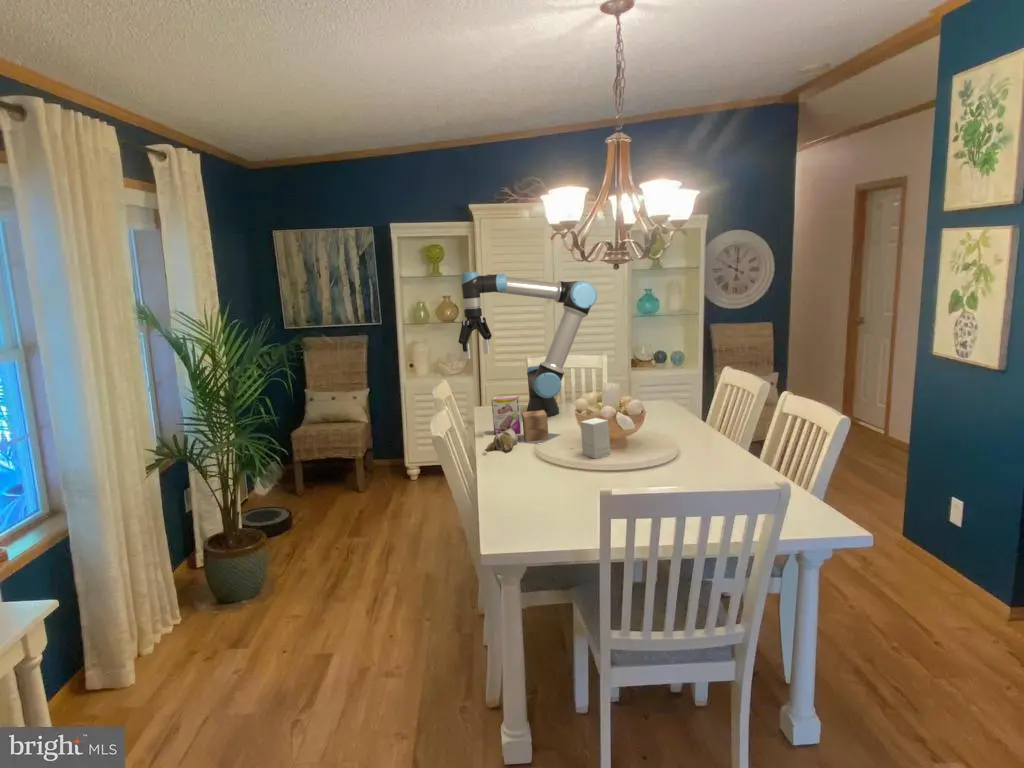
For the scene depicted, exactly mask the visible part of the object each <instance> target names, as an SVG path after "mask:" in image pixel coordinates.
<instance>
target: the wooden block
mask: <svg viewBox="0 0 1024 768" xmlns="http://www.w3.org/2000/svg"><path fill="white" fill-rule="evenodd" d="M521 419H522V420H521V422H522V430H523V431H522V432H523V436H524V438H525V440H526V442H529V441H538V440H548V439H549V436H548V433H549V426H548V425H549V424H548V417H547V414H546V412H545V411H544V410H540V411H530V412H527V411H523V412H521ZM548 441H549V440H548Z"/></svg>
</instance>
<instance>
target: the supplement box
mask: <svg viewBox="0 0 1024 768" xmlns="http://www.w3.org/2000/svg"><path fill="white" fill-rule="evenodd" d="M580 432H581V434H580V435H581V444H582V445H581V447H582V455H585V456H589V458H592V459H599V458H603V457H606V456H609V455H611V444H610V443H611V441H610V428H609V420H608V419H601V418H597V417H594V418H590V419H585V420H583V421H582V420H581V421H580Z"/></svg>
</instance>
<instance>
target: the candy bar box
mask: <svg viewBox="0 0 1024 768" xmlns="http://www.w3.org/2000/svg"><path fill="white" fill-rule="evenodd" d="M520 406H521V405H520V396H519V395H513V396H512V395H511V396H495V397H492V398H491V408H492V409H491V410H492V422H493V433H494V436H496V435H497V434H499V433H500V431H501V430H502V429H504V430H508V429H510V428H512V429H513V431H514V432H515V434H516V435H521V434H522V432H523V431H522V430H523V429H522V420H521V419H522V417H521V407H520Z"/></svg>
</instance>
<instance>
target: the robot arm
mask: <svg viewBox="0 0 1024 768" xmlns="http://www.w3.org/2000/svg"><path fill="white" fill-rule="evenodd" d="M460 276H461V279H460V281H461V289H462V290H461V292H462V293H461V294H462V298H463V299H462V300H463V308H464V309H463V311H464V318H465V319H466V320H461V329H460V332H459V337H458V344H460V345H462V351H463V359H464V360H470V359H471V352H470V343H469V340H470V338H471V335H472V333H473V331H474V330H477V331H478V333H479V334H480V336H481V337H482V338H483V339H482V349H483V350H482V351H483V355H490V341H489V340H492V339H491V338H492V333H491V331H490V328H489V325H488V323H487V319H486V317H482V315H483V311H482V308H481V307H482V299H481V294H484V293H485V294H488V293H489V294H490V293H498V294H499V293H500V294H508V295H516V296H524V297H532V298H539V299H547V300H554V301H555V302H556V303H560V304H562V307H563V310H564V312H563V314H562V317H561V319H560V322H559V323H558V326H557V329H556V331H555V333H554V336H553V339H552V342H551V344H550V347H549V350H548V351H547V354H546V357H545V360H544V361H543V362H541V363H539V364H538V365H532V366H531V365H530V366H528V367H527V370H526V371H527V373H526V374H527V384H528V394H529V395H528V396H529V399H528V403H527V408H526V412H530V411H540V410H544V411H545V412H546V414H547V418H548V417H553V416H556V415H558V414H560V407H559V405H558V403H557V400H556V398H555V397H556V396H557V395H558V394H559V393H560V392H561V389H562V380H563V378H564V374H565V372H564V366H565V363H566V361H567V358H568V357H569V353H570V350H571V348H572V345H573V344H574V341H575V338H576V336H577V333H578V331H579V328H580V325H581V323H582V320H583V319H584V318H585V317H587V316H588V315H589V312H590V310H591V307H593V306H594V304H596V302H597V298H598V291H597V290H596V289H597V288H596V287H595V286H594V285H593V284H592V283H590V282H588V281H585V280H575V281H574V280H573V281H561V280H559V281H557V282H551V281H544V280H536V279H528V278H520V277H512V276H507V275H506V273H505V274H504V273H496V274H486V275H480V274H479V272H478V271H466V272H462V273H461V275H460Z"/></svg>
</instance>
